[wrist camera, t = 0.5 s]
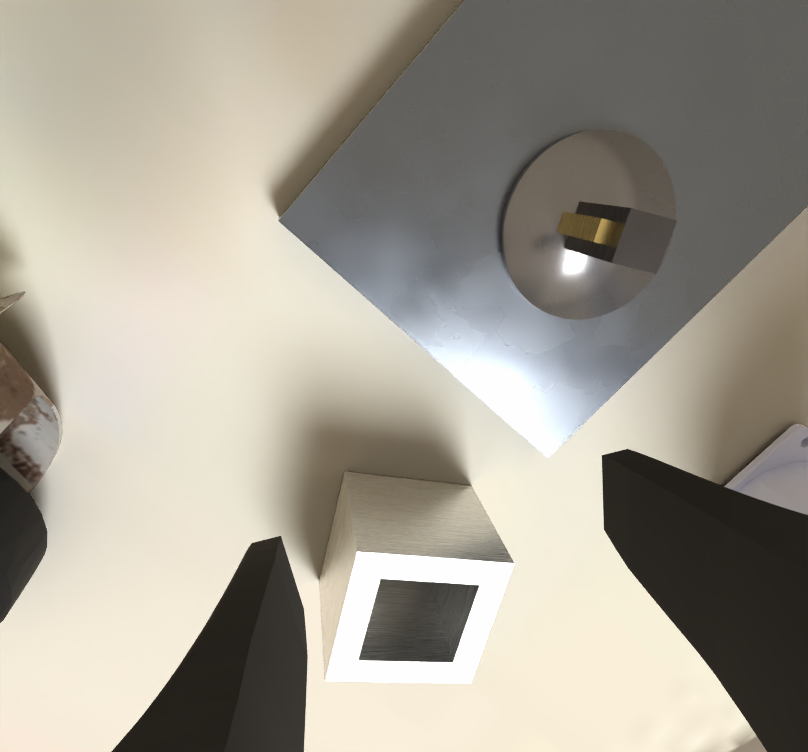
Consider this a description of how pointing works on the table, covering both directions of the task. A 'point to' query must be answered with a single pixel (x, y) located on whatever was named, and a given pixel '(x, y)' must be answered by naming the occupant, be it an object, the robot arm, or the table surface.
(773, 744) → the robot arm
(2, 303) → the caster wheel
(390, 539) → the collar
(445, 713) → the table surface
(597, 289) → the plate
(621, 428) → the table surface
